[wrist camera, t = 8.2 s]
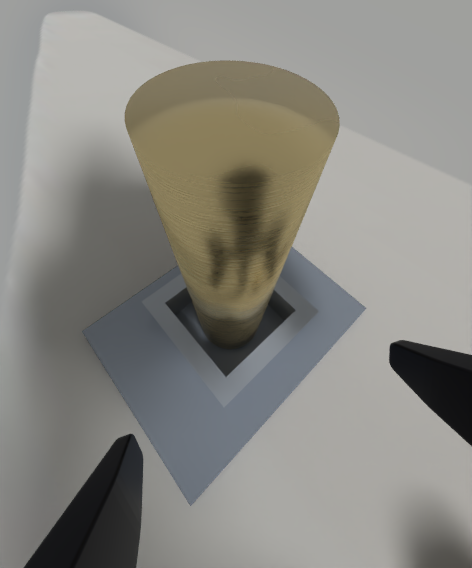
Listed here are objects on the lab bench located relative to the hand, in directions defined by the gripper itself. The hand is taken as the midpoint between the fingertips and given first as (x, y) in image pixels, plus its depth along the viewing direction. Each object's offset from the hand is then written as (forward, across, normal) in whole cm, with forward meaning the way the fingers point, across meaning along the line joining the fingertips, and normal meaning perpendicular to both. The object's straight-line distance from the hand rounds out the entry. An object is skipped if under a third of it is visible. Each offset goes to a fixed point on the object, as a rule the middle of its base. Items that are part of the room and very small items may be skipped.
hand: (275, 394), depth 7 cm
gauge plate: (+9, 0, +2) cm, 9 cm away
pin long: (+9, 0, +1) cm, 9 cm away
